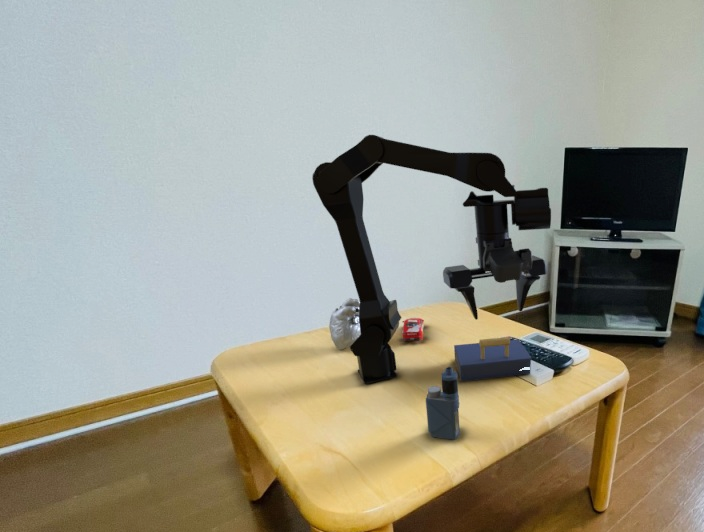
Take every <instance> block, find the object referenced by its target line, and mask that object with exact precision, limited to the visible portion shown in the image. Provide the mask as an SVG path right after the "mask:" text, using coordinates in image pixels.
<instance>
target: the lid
mask: <svg viewBox="0 0 704 532" xmlns="http://www.w3.org/2000/svg"><path fill="white" fill-rule="evenodd" d="M454 348H455V351H456V355H457V358H458V361H459V364H460V367H461V368H466V367H475V366H485V365H494V364H504V363H513V362H523V361H531V362H532V361H533V358H532V356H531V355H530V353H529V352H528V351H527V349H526V348H525V346H524V345H523V344H522V342H521V341H520V340H519V339H510V337H509V336H504V337H493V338H482V339H481V338H480V339H479V341H478V342H476V343H475V342H474V343H464V344H454V345H453V349H454Z"/></svg>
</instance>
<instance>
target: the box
mask: <svg viewBox="0 0 704 532" xmlns="http://www.w3.org/2000/svg"><path fill="white" fill-rule="evenodd" d="M453 350H454V351H453V353H454V363H455V366H456V369H457V374H458V376H459V379H460V382H461V383H462V382H471V381H478V380H487V379H495V378H503V377H504V378H505V377H512V376H513V377H515V376H523V375H530V374H531V369H530V370H522V371H519V370H520V369H522V368H524V367H530V368H531V367H532V366H531V365H532V364H531V363H532V361H523V362H513V363H504V364H494V365H485V366H475V367H466V368H461V367H460V364H459V361H458V358H457V355H456V351H455V348H454V347H453Z"/></svg>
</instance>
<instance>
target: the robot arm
mask: <svg viewBox="0 0 704 532" xmlns="http://www.w3.org/2000/svg"><path fill="white" fill-rule="evenodd" d="M383 164H386V165H391V166H395V167H401V168H406V169H411V170H416V171H420V172H426V173H429V174H430V173H431V174H434V175H435V174H436V175H439V176H440V175H441V176H444V177H449V178H451V179H453V180H456V181H458V182H460V183H463V184H465V185H468V186H470V187H473V188H475V189H477V190H480V191H482V192H485V193H486V192H487V193H489V192H496V193H498V194H499V195H501V196H502V197H504V198H513V199H501V200H499V199H498V200H495V198H494V194H482V195H481V194H480V195H479V194H478V195H477V194H476V193H475V191H473V190H471V191H470V192H469V194H468V196H467V198H466V199H465V200H464V201H463V202H462V206H463V207H464V208H467V207H468V208H471V207H473V208H474V220H475V231H476V237H475V244H477V253H478V259H477V266H479V267H475V268H469V267H467V266H466V265H464V264H460V265H452V266H446V267H444V269H443V271H442V278H443V283H444V284H446V286H447V287H448V288H449V289H454V290H455V291H457V292H459V293H460V294H461V295H462V296H463V298H464V300H465V302H466V304H467V306H468V308H469V311H470V312H471V314H472V316H473V318H474V320H478V318H479V317H478V313H479V312H478V309H477V303H476V297H475V287H474V286H473V285H472V283H473V280H478V279H485V278H491V277H493V279H494V281H495V282H496V283H500V284H501V283H506V282H508V281H515V291H516V293H515V294H516V304H517V310H518V311H519V312H523V310H524V307H525V304H526V299H527V297H528V294H529V291H530V289H531V287H532V285H534V283H535V282H536V281H539V280H540V279H541V276H544V275H547V273H548V270H547V268H548V267H547V266H548V265H547V263H546V261H545V259H543V258H542V257H538V256H536V255H533V254H532V250H531V249H530V248H520V249H518V250H515V249H514V246H513V241H512V238H511V237H510V233H509V232H510V231H509V215H508V205H510V215H511V226H514V225H515V226H516V227H517V229H518V231H533V230H549V229H551V226H552V225H551V224H552V208H551V207H550V206H551V205H550V197H549V188H548V187H539V188H535V189H534V188H533V189H522V190H521V189H518V190H516V187H515V184H512V183H511V182H510V181H509V180H508V178H507V177H506V167H505V165H504V162H503V160H502V158H500V157H499V156H498V155H497V154H494V153H492V152H450V151H444V150H441V149H440V150H439V149H434V148H429V147H425V146H420V145H415V144H411V143H407V142H402V141H398V140H397V141H396V140H392V139H388V138H384V137H382V136H379V135H376V134H368V135H366V136H364V137H363V138H362V139H361V140H360V141H359V142H358V143H357V144H356V145H354V146H352V147H351V148H349V149H347V150H346V151H345V152H343V153H341V154H340V155H339V156H337V157H336V158H334V159H333V160H332V161H331V162H327V161H325V162H322V163H320V164H319V165H317V166H316V168H315V170H314V172H313V173H312V178H311V179H312V184H313V188H314V189H315V192H316V193H317V195H318V197H319V199H320V202H321V204H322V205H323V208H325V210H326V211H327V213H328V214H329V215H330V217H331V218H332V219H333V221H334V222H335V225H336V228H337V230H338V235H339V238H340V240H341V243H342V247H343V250H344V254H345V257H346V260H347V263H348V266H349V270H350V273H351V277H352V281H353V283H354V286H355V290H356V293H357V296H358V300H359V301H360V306H359V325H360V333H361V334H360V336H359V337H358V338H357V339H356V340H355V341H354V343H353V344H352V345H351V346H349V349H350V350H351V352H352V354H353V356H354V357H356V359H357V360H356V361H357V364H358V369H357V373H358V375H359V377H360V379H361V380H362V382H363V384H364V385H369V384H373V383H376V382H381V381H385V380H389V379H394V378H397V377H398V374H397V373H396V371H397V361H396V355H395V352H394V350H393V349H392V346H391V345H390V343H389V342H390V341H391V340H392V338H393V336H394V335H395V333H396V332H397V330H398V329H399V327H400V321H401V319H402V315H401V314H400V312H399V309H398V302H397V301H398V300H396V299H393V300H389V298H388V297H387V296H386V294H385V293H384V290H383V286H382V283H381V280H380V276H379V273H378V269H377V265H376V261H375V257H374V254H373V251H372V247H371V243H370V240H369V236H368V233H367V229H366V225H365V221H364V217H363V215H364V213H363V212H364V192H363V183H364V182H365V181H367V180H368V179H369V178H370V177H371V176H372V175H373V174H374V173H375V172H376V171H377V170H378V169H379V168H380V167H381V166H382V165H383Z"/></svg>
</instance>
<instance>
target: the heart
mask: <svg viewBox="0 0 704 532" xmlns="http://www.w3.org/2000/svg"><path fill="white" fill-rule="evenodd" d="M359 306H360V301H359V299H357V298H350V297H349V298H347V299H346V300H345V301H344V302H342V304H341V305H340V306H339V307H336V308H334V310H332V312H331V314H330V318H329V325H328V328H329V333H330V338H331V341H332V343H333V344H334V346H335V348H336V350H340V351H341V350H342V351H343V350H345V349H347V348H350V346H351V345H352V344H353V343H354V341H355V340H356V339H357V338H358V337H359V336H360V334H361V333H360V325H359Z"/></svg>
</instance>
